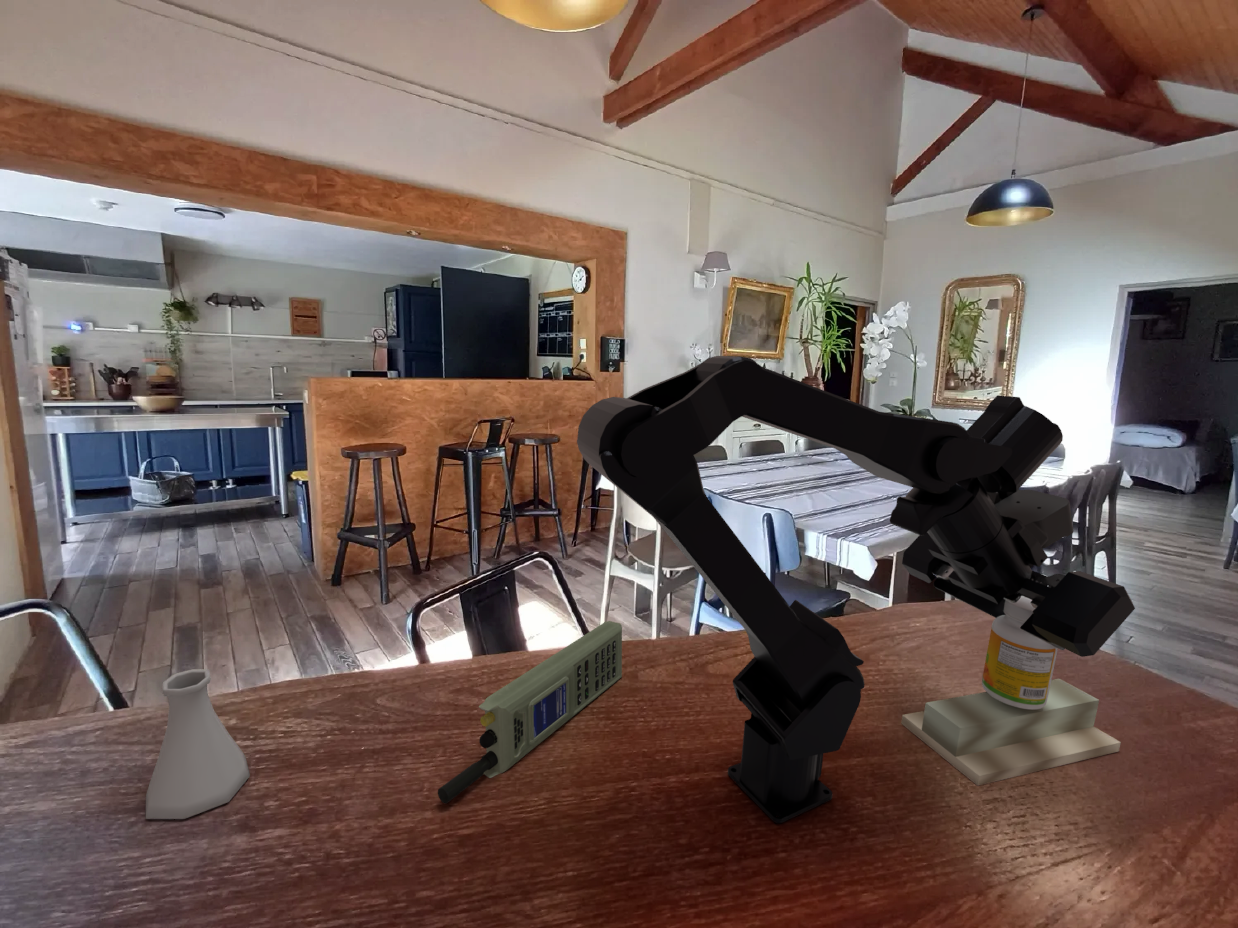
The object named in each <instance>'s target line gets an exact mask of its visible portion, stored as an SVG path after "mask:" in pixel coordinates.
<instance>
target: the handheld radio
mask: <svg viewBox="0 0 1238 928" xmlns="http://www.w3.org/2000/svg"><path fill="white" fill-rule="evenodd" d="M622 637H623V626H622V623H620V622H616V621H611V620H608V621H605V622H603V623H601V624H599V626H596V627H595V628H593V629H592V630H590V631H588V632H587V633H586V634H584V635H582V636H581V637H580V638H579V637H578V639H576V640H575V641H573V642H571V643H570V644H568V645H566V646H565V647H564V648H562V649H560V650H559V651H557V652H555V654H553V655H551V656H549V657H548V658H547V659H545V660H544V661H541V662H540V663H538V664H537V665H536V666H534V667H533V668H531V669H529V670H528V671H526V672H524V673H523V674H522V675H520V676H519V677H517V678H515V679H514V680H512V681H511V682H509V683H507V684H506V685H504V686H503V687H501V688H499V689H498V690H497V691H495V692H494V693H492V694H490V695H488V696H487V697H486V699H484V702H482V703H481V704H480V705H479V706H478V708H479V709H480V710H482V711H484V715H482V716H481V717H480V723H481V725H482V726H483V727H485V731H484V733H482V735H480V737H479V741H478V742H479V744H480V746H481V747H482V748H484V749H486V753H485V754H484V755H482V756H481V758H480V759H479V760H477V761H476V762H474V763H472V764H471V765H470V766H468V767H466V768H465V769H464V770H463V771H461V772H460V773H458V774H457V775H456V776H454V777H453V778H451V779H450V780H449V781H448V782H446V783H445V784H443V785H442V786H441V787H439V788H438V789H437V796H438V798H439V800H440V802H442V803H443V804H445V805H446V804H448V803H449V802H451V800H454V798H456V797H457V796H458V795H460V794H461V793H462V792H464V791H465V790H466V789H467V788H469V786H471V785H472V784H473V783H475V782H476V781H478V779H480V778H481V777H482V776H486V777H487V778H489V779H491V778H493V777H495V776H498V775H499V774H503V773H504V772H506V771H508V770H509V769H510V768H512V767H513V766H514V765H515V764H516V763H518V762H519V761H520V760H521V759H522V758H524V757H525V756H526V755H528V754H529V753H530V752H531V751H532V750H533V749H535V748H536V747H537V746H539V745H540V744H541V743H542V742H544V741H545V740H546V739H547V738H549V736H551V735H552V734H553V733H554V732H556V731H557V730H558V729H560V728H561V727H562V726H563V725H565V724H566V723H567V722H568V721H569V720H571V719H572V718H573V717H574V716H575V715H577V714H578V713H579V712H581V711H582V710H583V709H584V708H585V707H586V706H588V705H589V704H591V703H592V702H593V701H594V700H596V699H597V698H598V697H599V696H600V695H602V694H603V692H605V691H607V690H608V689H609V688H610V687H611V686H612V685H614V684H615V683H616V682H617V681H619V680H620V679H621V678H622V677H623V675H622V674H623V671H622V667H623V659H622V658H623V638H622Z"/></svg>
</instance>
